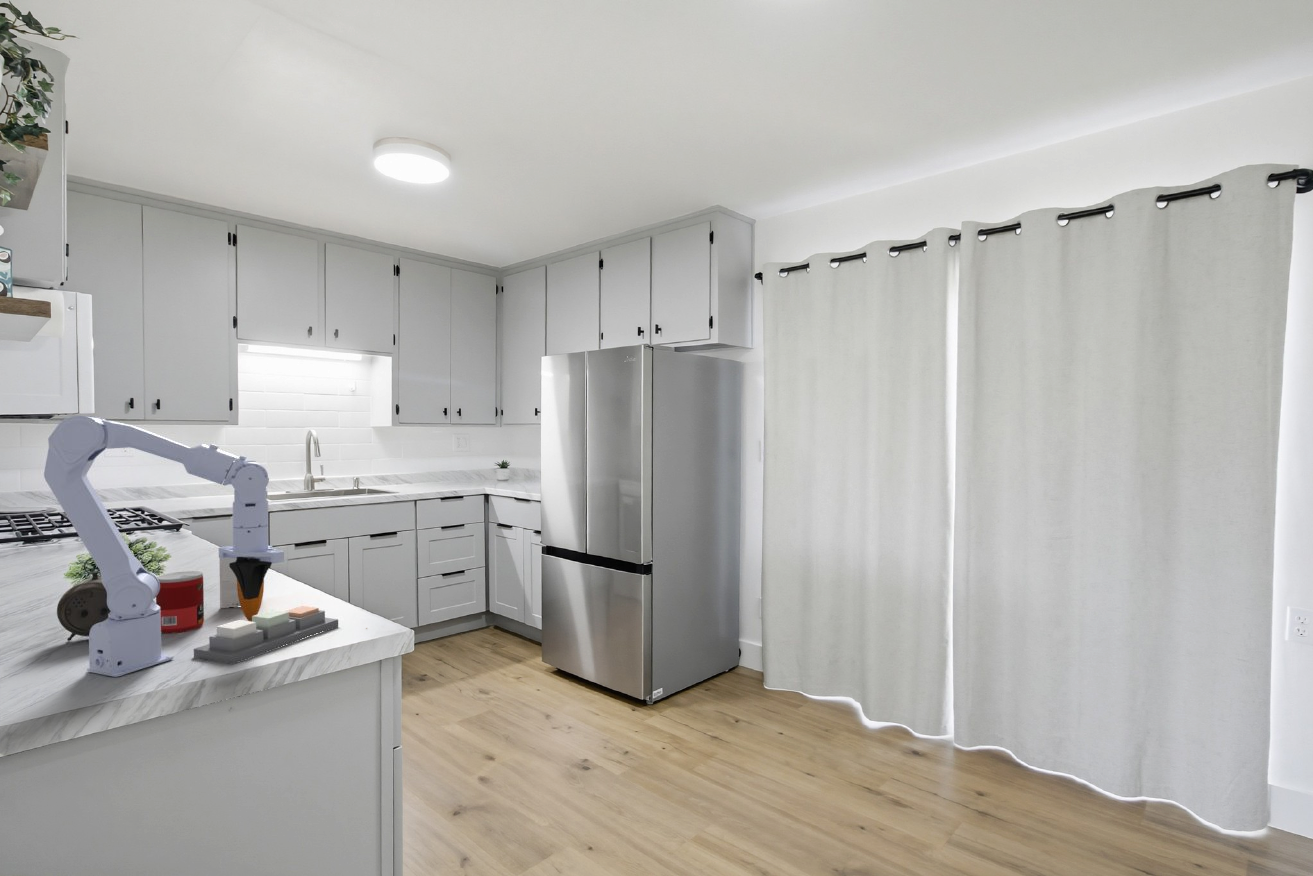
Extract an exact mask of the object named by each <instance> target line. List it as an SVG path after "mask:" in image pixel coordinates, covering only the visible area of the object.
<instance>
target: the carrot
mask: <svg viewBox="0 0 1313 876" xmlns="http://www.w3.org/2000/svg"><path fill="white" fill-rule="evenodd" d="M264 585H265V579H264V580H263V582H262V586H261V589H260V593H259V597H257V598H254V599H250V600H248V599H244V597H243V594H242V591H241V588H240V585H239V582H238V580H237V591H238V598H239V602H240V606H241V607H240V609H241V611H242V613H243V615H244V617H245V618H246V621H251V622H252V616H254V615H257V614H259V611H260V609H261V606H262V603H263V597H264V588H265V587H264Z"/></svg>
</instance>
